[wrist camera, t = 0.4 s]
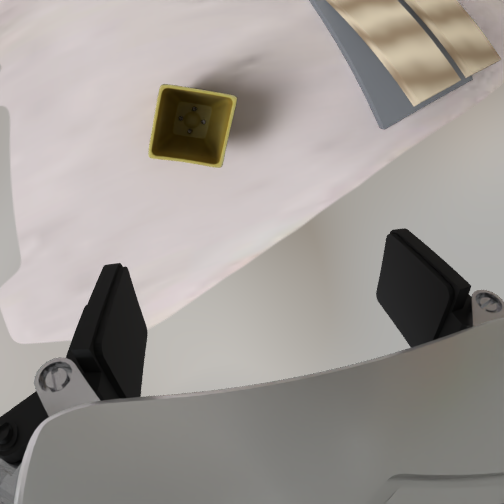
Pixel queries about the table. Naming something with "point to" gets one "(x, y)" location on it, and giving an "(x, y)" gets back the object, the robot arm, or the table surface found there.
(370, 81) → the floor board
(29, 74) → the table surface
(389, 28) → the oak plank
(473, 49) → the oak plank
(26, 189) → the table surface
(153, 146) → the flower pot
